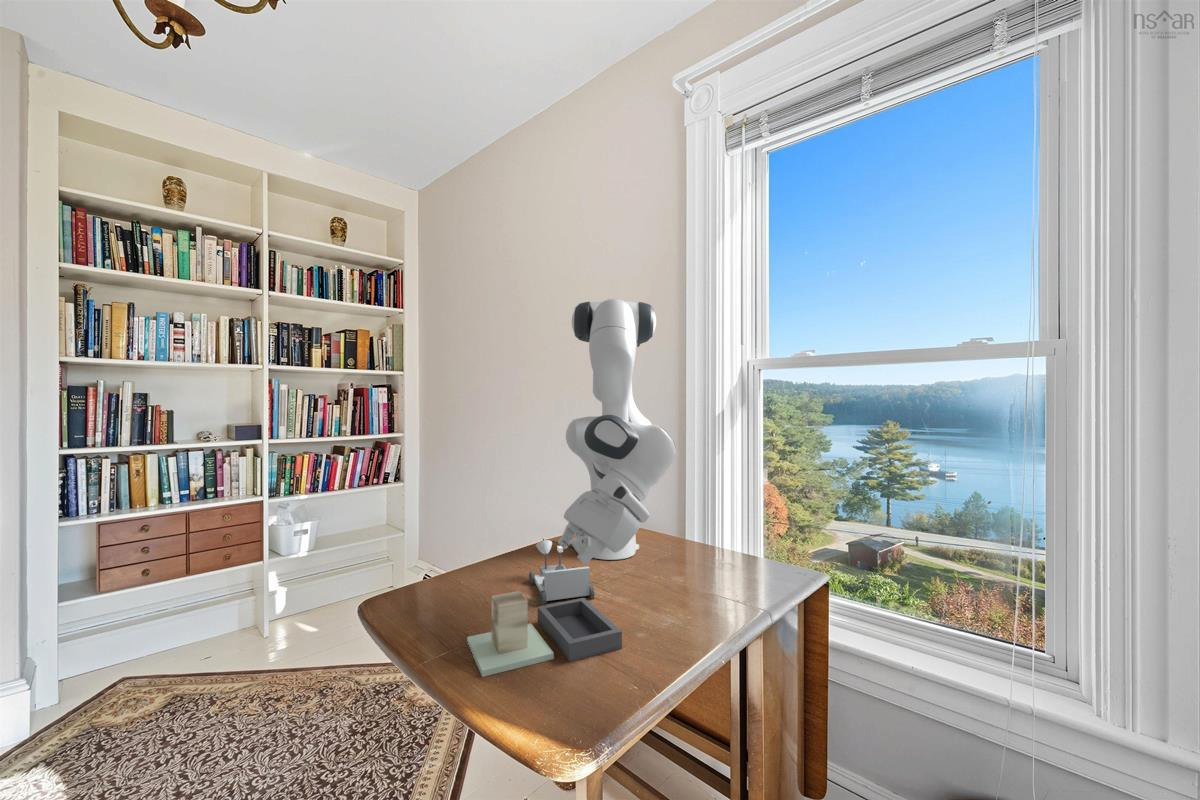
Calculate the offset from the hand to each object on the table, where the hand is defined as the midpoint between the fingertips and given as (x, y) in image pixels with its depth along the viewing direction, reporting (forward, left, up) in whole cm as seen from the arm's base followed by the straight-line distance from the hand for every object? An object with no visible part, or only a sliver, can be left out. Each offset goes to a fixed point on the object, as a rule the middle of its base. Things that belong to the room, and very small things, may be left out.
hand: (570, 553), depth 89 cm
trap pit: (0, +1, -15) cm, 15 cm away
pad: (0, -12, -15) cm, 19 cm away
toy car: (-22, +7, -16) cm, 28 cm away
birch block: (0, -12, -14) cm, 18 cm away
